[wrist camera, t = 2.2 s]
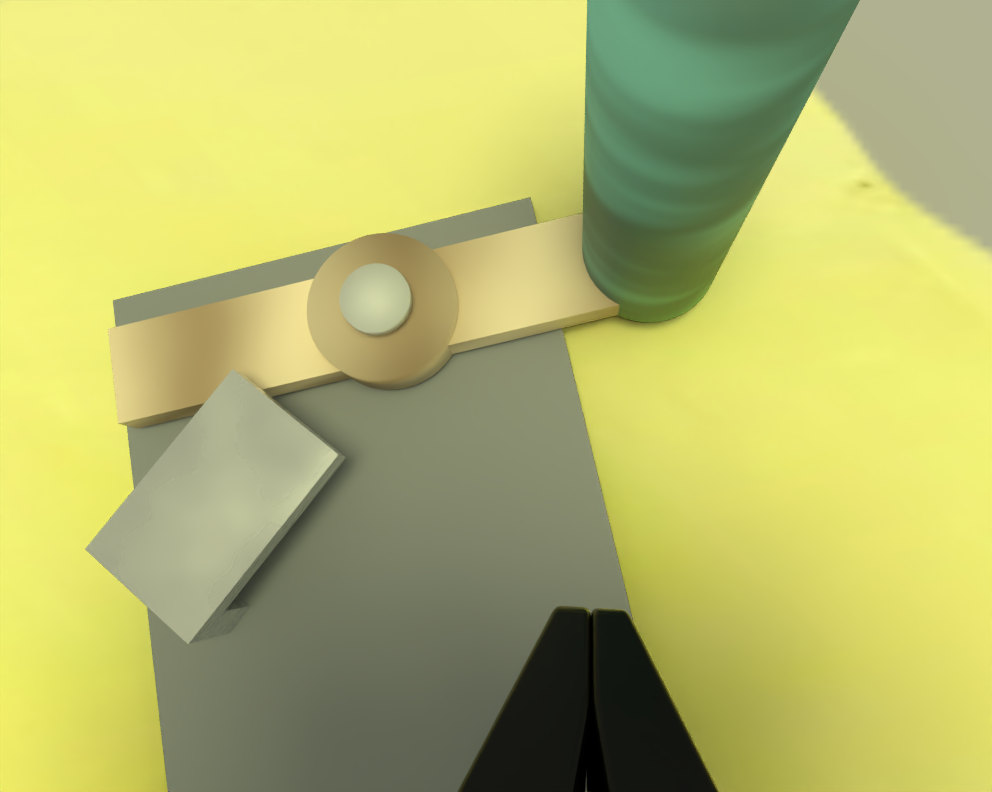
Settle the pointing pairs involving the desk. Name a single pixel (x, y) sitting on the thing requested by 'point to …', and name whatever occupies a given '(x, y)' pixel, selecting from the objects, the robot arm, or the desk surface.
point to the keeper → (215, 509)
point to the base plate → (390, 556)
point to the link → (545, 246)
